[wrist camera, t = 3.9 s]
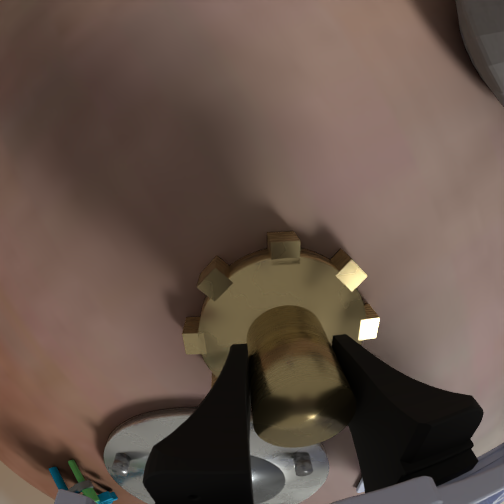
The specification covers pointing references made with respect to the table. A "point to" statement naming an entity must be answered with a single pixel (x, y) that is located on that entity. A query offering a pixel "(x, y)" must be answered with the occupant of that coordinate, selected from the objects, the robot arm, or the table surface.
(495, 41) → the coffee pot
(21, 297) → the table surface
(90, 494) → the gear
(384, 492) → the robot arm
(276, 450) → the carrier plate
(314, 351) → the planet gear
